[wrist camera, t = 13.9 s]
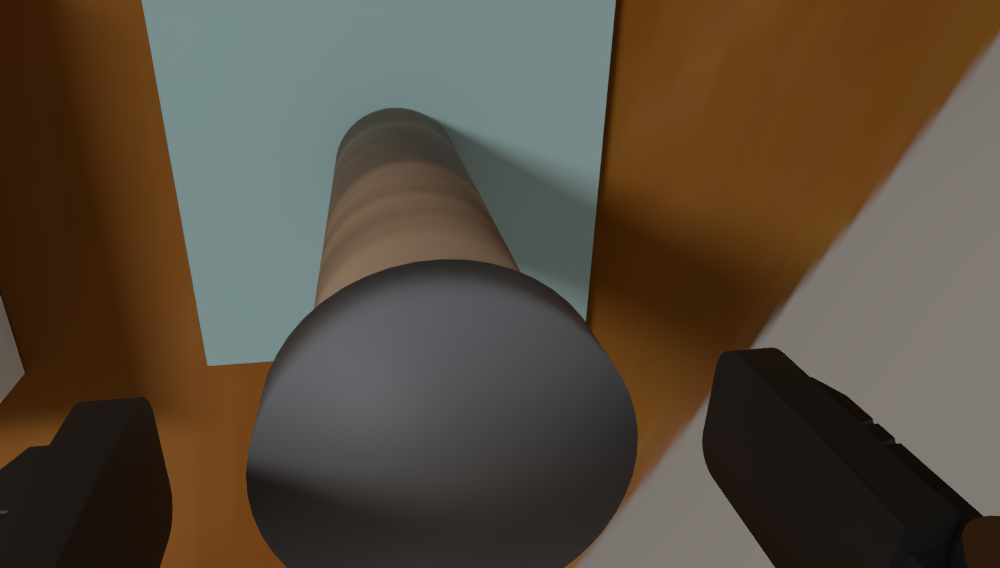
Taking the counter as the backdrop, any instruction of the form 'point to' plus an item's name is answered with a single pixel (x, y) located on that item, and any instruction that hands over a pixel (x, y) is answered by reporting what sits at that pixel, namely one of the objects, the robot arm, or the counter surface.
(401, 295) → the pin
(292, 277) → the mat
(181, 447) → the counter surface
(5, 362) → the eye block
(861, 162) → the counter surface
